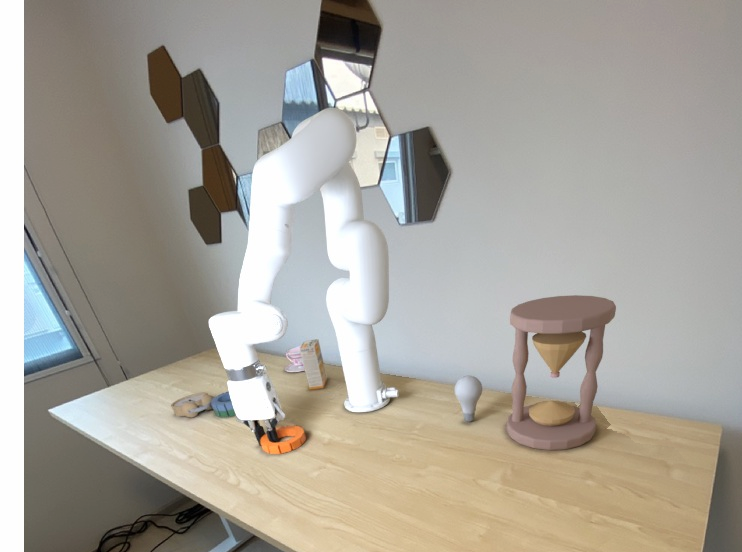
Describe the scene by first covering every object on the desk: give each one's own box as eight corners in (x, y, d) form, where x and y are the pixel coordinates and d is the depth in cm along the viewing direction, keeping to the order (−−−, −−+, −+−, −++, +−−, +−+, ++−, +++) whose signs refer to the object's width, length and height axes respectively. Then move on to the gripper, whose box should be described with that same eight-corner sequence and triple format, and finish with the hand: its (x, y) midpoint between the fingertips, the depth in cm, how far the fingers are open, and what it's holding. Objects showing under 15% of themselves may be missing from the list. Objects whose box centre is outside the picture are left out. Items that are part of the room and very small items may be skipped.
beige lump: (198, 391, 132) (217, 390, 122) (205, 405, 135) (224, 406, 124) (164, 404, 126) (182, 405, 116) (172, 419, 128) (190, 421, 118)
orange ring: (311, 431, 103) (309, 424, 102) (296, 453, 95) (293, 446, 94) (273, 432, 106) (271, 425, 104) (255, 454, 97) (252, 447, 96)
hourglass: (600, 415, 89) (621, 293, 75) (588, 456, 77) (610, 320, 63) (518, 408, 98) (523, 296, 84) (496, 444, 86) (498, 321, 72)
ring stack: (257, 401, 126) (253, 388, 124) (240, 416, 118) (236, 403, 115) (227, 402, 129) (222, 390, 126) (209, 418, 120) (203, 405, 118)
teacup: (322, 359, 151) (318, 343, 148) (311, 371, 142) (307, 354, 138) (292, 362, 154) (288, 345, 150) (280, 374, 144) (275, 356, 141)
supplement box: (324, 388, 127) (314, 346, 119) (309, 390, 127) (298, 348, 120) (327, 378, 133) (318, 338, 126) (313, 380, 134) (303, 340, 127)
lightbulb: (485, 416, 97) (485, 371, 90) (478, 428, 92) (478, 382, 86) (460, 414, 99) (458, 371, 93) (452, 426, 95) (450, 381, 89)
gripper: (283, 363, 92) (304, 434, 102) (221, 367, 96) (247, 436, 106) (269, 375, 86) (293, 450, 96) (204, 380, 90) (233, 451, 100)
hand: (269, 442), depth 101 cm, fingers closed on orange ring, 2 cm apart
